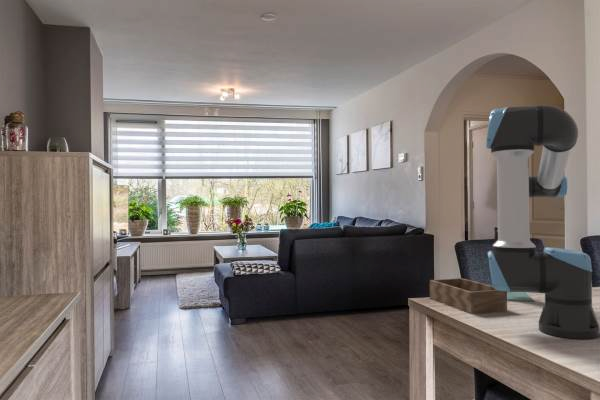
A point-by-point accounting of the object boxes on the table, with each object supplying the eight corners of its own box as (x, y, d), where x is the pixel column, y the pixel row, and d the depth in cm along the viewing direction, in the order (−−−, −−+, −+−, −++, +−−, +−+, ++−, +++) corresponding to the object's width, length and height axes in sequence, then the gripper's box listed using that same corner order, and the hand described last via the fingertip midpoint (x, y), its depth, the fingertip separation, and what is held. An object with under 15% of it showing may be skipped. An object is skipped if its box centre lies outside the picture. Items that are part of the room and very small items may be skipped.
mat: (533, 301, 176) (533, 299, 176) (492, 300, 179) (492, 298, 179) (525, 294, 189) (525, 292, 189) (487, 293, 193) (487, 291, 193)
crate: (507, 310, 162) (506, 289, 162) (471, 313, 159) (470, 292, 159) (461, 296, 188) (461, 278, 188) (429, 298, 184) (429, 280, 184)
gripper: (536, 213, 175) (537, 275, 175) (498, 212, 195) (499, 268, 195) (519, 214, 173) (520, 277, 173) (482, 212, 193) (483, 269, 193)
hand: (509, 272), depth 184 cm, fingers closed on pill bottle, 8 cm apart
